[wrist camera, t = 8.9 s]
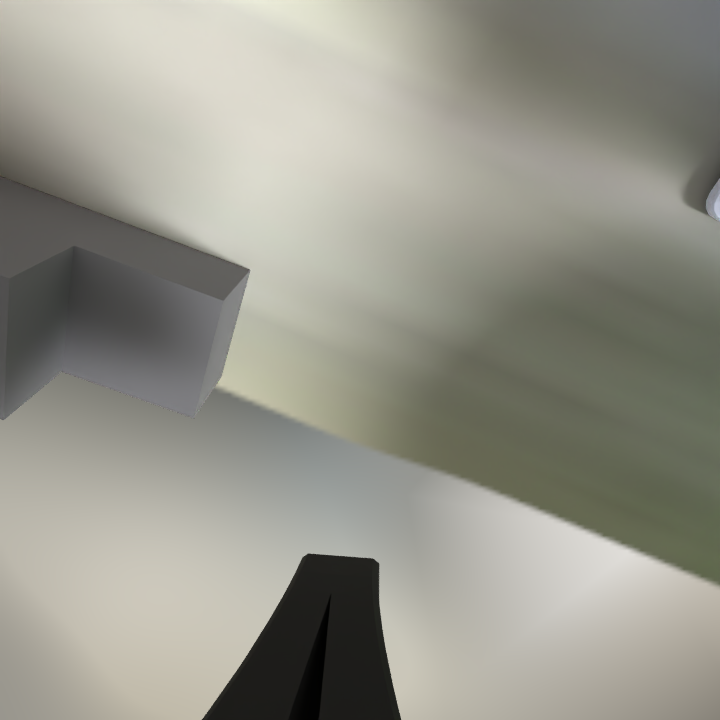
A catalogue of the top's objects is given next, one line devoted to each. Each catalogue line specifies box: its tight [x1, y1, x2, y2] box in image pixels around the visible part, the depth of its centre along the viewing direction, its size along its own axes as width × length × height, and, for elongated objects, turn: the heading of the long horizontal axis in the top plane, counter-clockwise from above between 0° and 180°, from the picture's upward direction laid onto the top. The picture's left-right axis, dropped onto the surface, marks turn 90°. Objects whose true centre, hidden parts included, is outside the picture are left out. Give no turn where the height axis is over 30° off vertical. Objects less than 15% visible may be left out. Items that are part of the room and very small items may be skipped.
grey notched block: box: [0, 176, 250, 420], centre depth 15 cm, size 8×4×5 cm, turn 70°
